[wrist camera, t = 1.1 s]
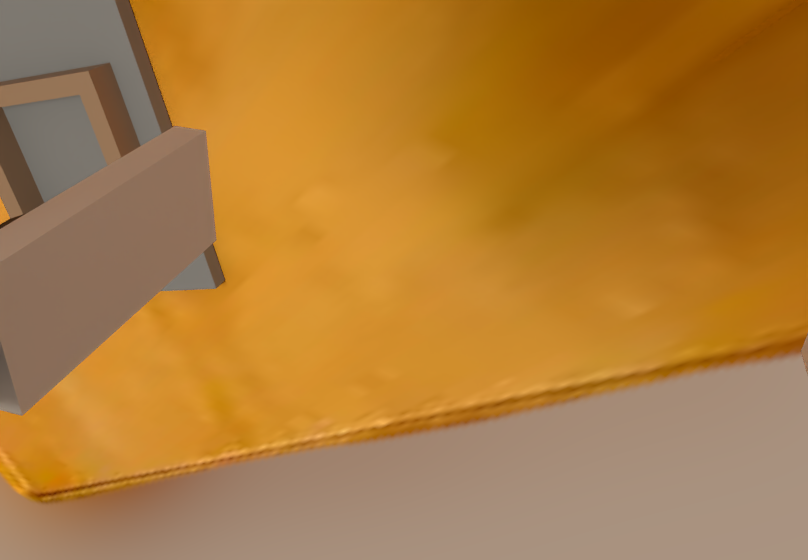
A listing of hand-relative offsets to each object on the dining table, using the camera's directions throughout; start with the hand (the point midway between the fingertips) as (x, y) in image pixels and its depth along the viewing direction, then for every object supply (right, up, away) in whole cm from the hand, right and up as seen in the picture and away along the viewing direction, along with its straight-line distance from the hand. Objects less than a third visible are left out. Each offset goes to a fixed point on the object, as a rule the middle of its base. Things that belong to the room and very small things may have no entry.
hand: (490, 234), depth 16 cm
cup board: (-23, +8, +33) cm, 41 cm away
